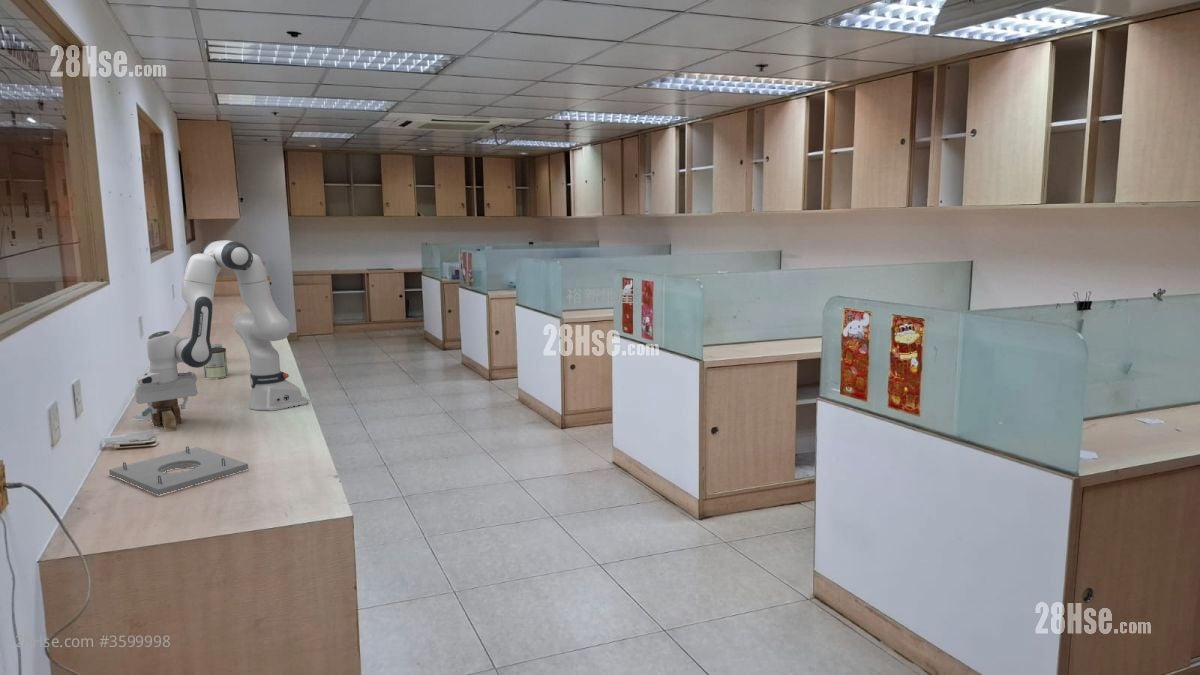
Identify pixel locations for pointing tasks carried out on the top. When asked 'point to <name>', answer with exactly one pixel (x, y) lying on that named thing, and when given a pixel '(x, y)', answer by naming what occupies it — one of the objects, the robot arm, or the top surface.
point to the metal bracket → (145, 414)
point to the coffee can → (217, 364)
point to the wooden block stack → (163, 405)
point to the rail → (168, 419)
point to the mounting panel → (158, 482)
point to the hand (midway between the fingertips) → (169, 411)
